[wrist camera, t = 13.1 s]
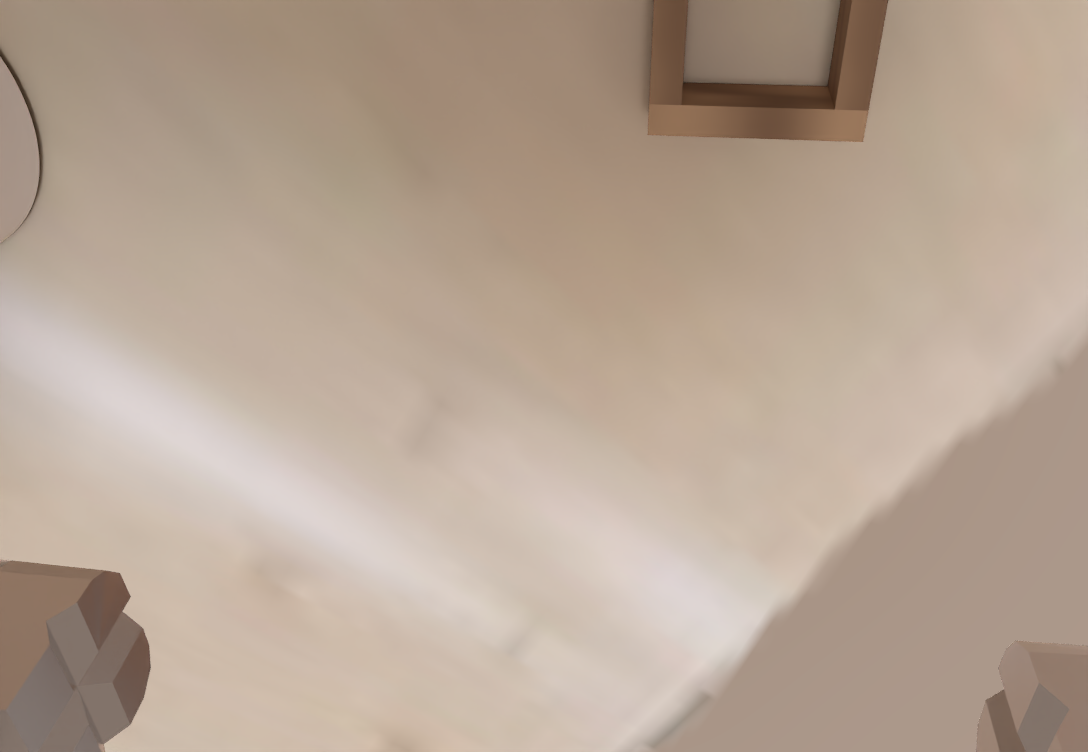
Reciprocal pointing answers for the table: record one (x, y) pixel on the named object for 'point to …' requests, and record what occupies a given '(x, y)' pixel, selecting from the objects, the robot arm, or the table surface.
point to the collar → (766, 86)
